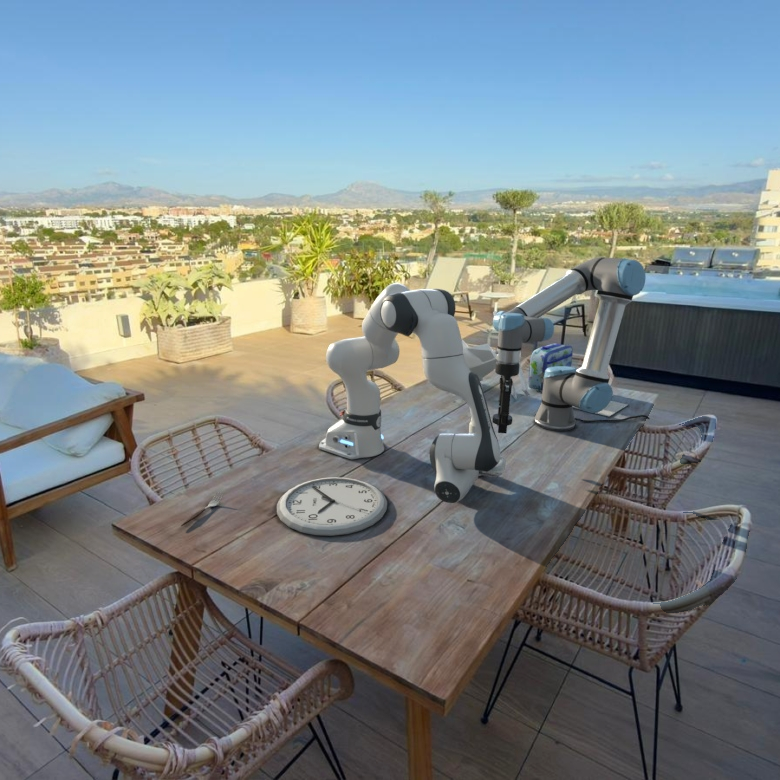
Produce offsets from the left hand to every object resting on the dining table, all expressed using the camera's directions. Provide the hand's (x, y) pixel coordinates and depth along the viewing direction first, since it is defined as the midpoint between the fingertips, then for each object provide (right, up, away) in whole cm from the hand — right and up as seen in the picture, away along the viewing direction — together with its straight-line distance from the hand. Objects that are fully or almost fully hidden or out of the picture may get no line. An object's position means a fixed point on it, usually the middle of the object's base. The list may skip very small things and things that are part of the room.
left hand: (477, 451), depth 163 cm
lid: (+10, +10, +11) cm, 18 cm away
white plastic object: (+15, +18, +81) cm, 84 cm away
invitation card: (+64, +12, +64) cm, 91 cm away
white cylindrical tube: (0, -7, +1) cm, 7 cm away
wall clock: (-43, -12, -20) cm, 49 cm away
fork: (-77, -13, -25) cm, 82 cm away
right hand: (+10, +6, +12) cm, 17 cm away
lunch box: (+49, +20, +89) cm, 104 cm away
